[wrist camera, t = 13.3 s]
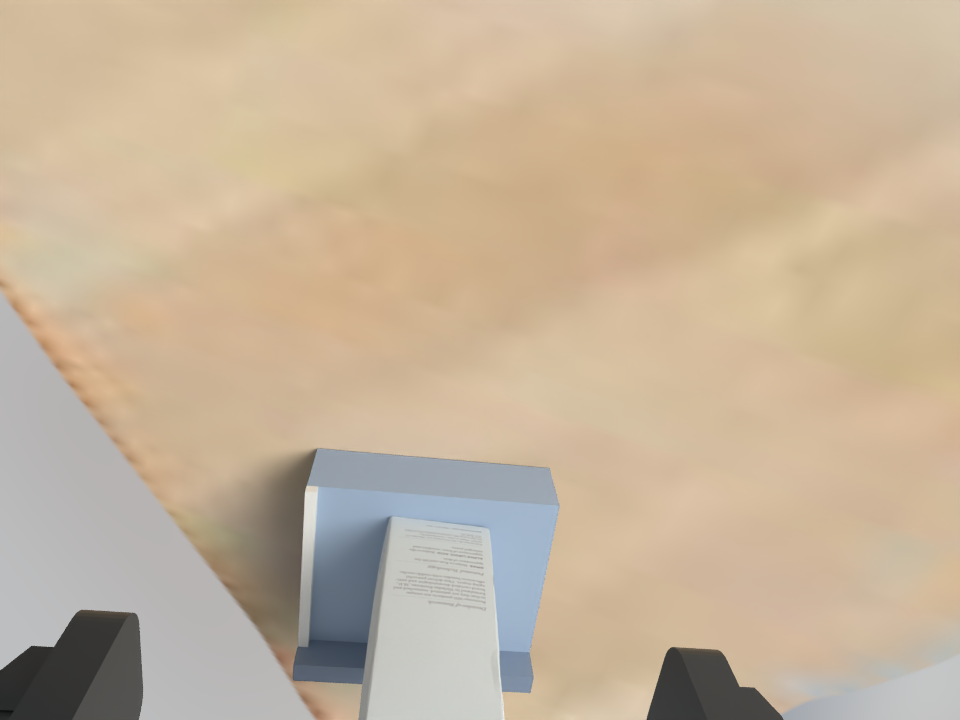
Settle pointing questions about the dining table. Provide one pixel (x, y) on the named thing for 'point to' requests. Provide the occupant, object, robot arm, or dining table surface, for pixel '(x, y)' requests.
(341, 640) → the tray
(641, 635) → the dining table surface
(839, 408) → the dining table surface
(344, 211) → the dining table surface
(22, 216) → the dining table surface
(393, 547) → the skincare box
